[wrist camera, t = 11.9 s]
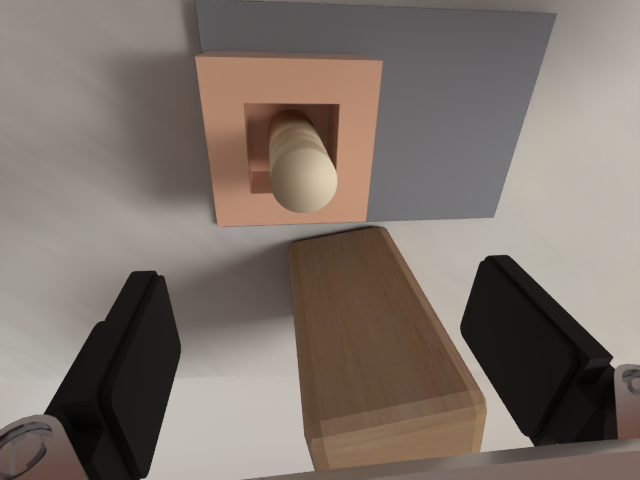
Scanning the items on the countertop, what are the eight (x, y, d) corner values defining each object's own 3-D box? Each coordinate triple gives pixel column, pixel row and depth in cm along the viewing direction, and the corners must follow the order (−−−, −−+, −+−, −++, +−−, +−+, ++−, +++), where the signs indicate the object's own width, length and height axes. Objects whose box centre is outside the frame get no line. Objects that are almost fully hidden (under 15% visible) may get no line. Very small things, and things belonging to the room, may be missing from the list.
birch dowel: (315, 109, 27) (339, 149, 19) (314, 156, 29) (335, 212, 20) (266, 109, 27) (268, 150, 18) (269, 157, 28) (272, 214, 20)
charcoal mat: (548, 13, 28) (556, 13, 27) (488, 213, 36) (493, 217, 35) (197, -1, 24) (194, -2, 23) (224, 221, 33) (223, 226, 32)
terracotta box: (362, 54, 26) (382, 60, 22) (351, 192, 32) (365, 221, 27) (208, 50, 25) (195, 56, 20) (225, 195, 31) (217, 226, 26)
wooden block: (390, 297, 40) (479, 496, 23) (302, 314, 40) (329, 528, 23) (386, 220, 35) (497, 403, 18) (285, 239, 35) (303, 444, 18)
